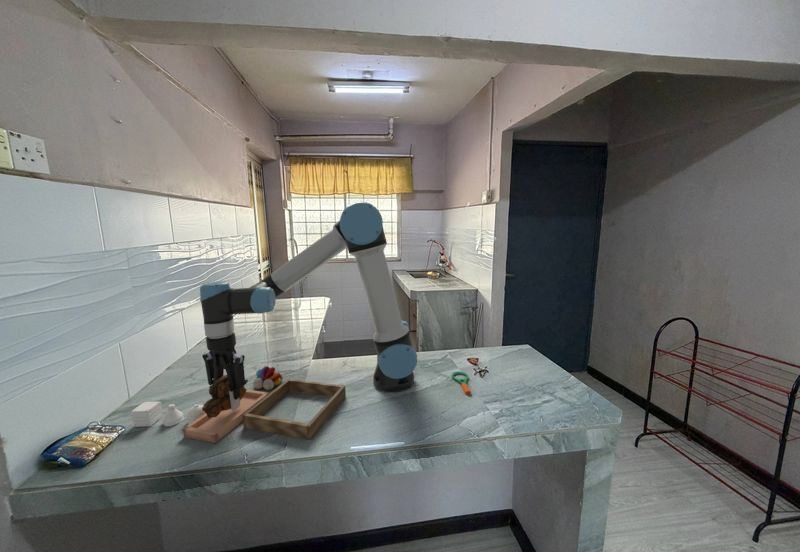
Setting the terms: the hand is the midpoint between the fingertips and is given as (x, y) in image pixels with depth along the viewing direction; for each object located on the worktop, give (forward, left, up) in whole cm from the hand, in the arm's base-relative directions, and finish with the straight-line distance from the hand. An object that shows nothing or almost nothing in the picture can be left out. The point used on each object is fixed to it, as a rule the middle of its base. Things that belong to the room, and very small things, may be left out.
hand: (229, 406), depth 95 cm
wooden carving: (0, 0, 0) cm, 0 cm away
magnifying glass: (-68, -36, -4) cm, 77 cm away
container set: (+16, +6, -4) cm, 17 cm away
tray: (0, 0, -3) cm, 3 cm away
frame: (-19, -7, -3) cm, 21 cm away
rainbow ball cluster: (+2, -19, -4) cm, 20 cm away
